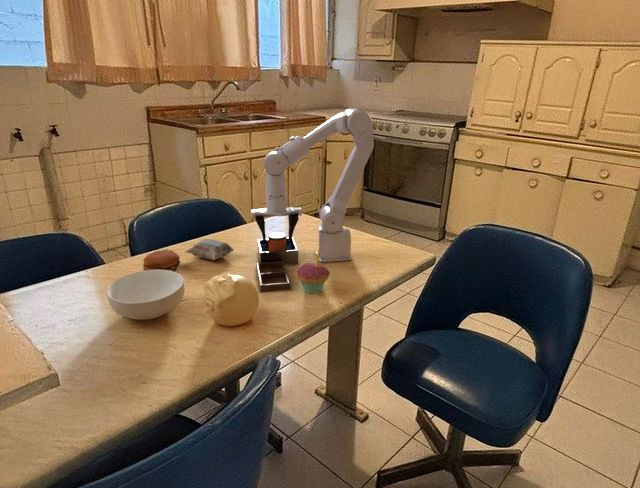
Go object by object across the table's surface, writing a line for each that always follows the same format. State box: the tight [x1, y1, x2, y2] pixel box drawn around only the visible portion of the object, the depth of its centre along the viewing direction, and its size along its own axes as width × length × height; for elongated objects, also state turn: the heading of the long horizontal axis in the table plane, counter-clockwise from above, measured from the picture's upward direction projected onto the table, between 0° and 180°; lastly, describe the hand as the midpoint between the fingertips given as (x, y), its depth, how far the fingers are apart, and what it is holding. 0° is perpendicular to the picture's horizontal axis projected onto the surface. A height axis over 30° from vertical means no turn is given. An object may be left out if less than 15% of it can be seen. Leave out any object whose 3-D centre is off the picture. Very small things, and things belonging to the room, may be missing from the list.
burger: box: [143, 249, 181, 271], centre depth 128 cm, size 10×9×5 cm
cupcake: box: [295, 248, 331, 294], centre depth 116 cm, size 9×8×12 cm
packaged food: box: [184, 238, 235, 261], centre depth 137 cm, size 9×12×5 cm
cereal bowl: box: [106, 270, 186, 320], centre depth 105 cm, size 17×17×7 cm
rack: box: [256, 261, 291, 293], centre depth 123 cm, size 8×14×2 cm, turn 12°
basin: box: [257, 236, 299, 266], centre depth 136 cm, size 11×11×4 cm
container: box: [267, 231, 287, 252], centre depth 136 cm, size 5×5×7 cm
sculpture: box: [203, 272, 260, 327], centre depth 102 cm, size 12×12×11 cm
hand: (277, 239), depth 135 cm, fingers open, 7 cm apart
